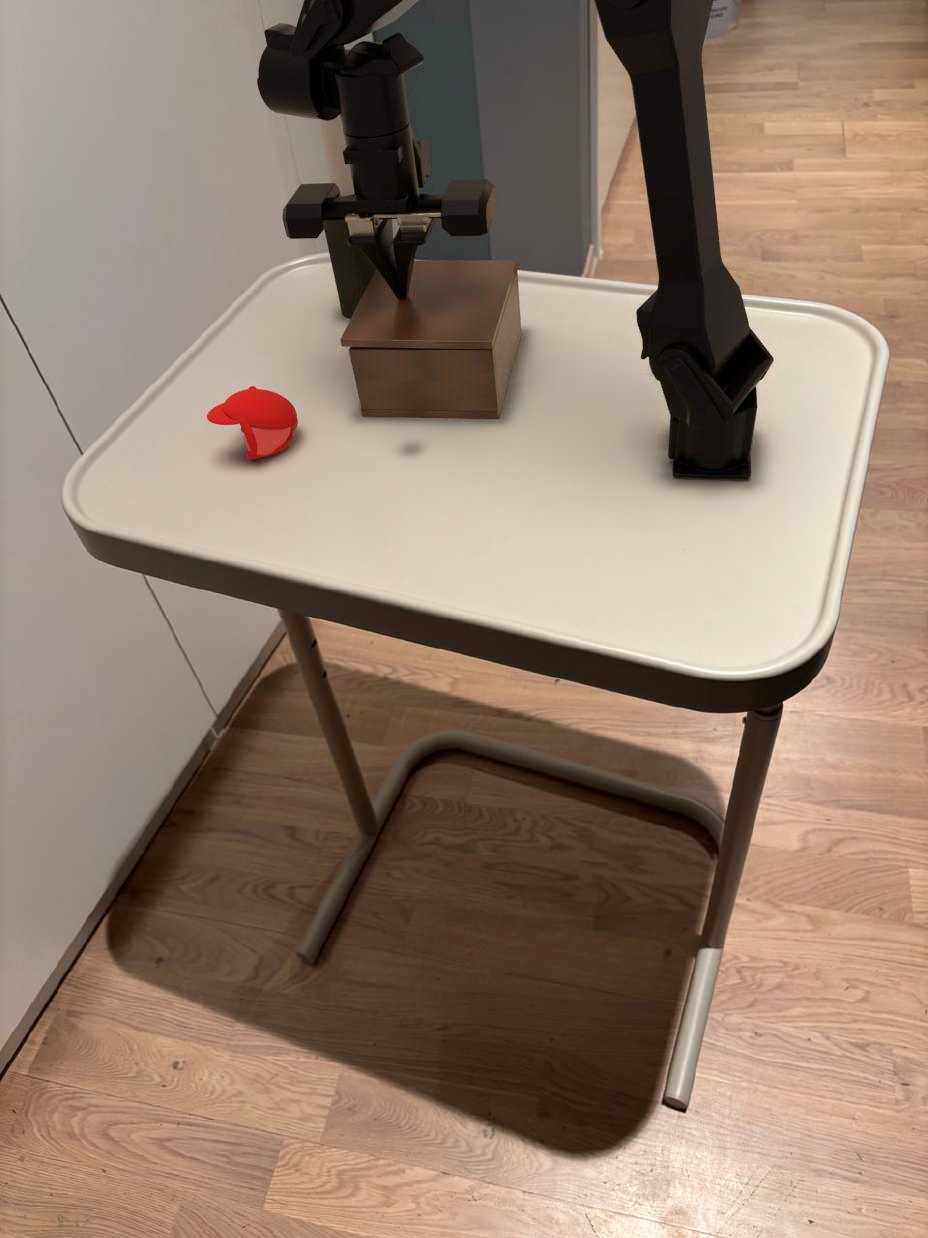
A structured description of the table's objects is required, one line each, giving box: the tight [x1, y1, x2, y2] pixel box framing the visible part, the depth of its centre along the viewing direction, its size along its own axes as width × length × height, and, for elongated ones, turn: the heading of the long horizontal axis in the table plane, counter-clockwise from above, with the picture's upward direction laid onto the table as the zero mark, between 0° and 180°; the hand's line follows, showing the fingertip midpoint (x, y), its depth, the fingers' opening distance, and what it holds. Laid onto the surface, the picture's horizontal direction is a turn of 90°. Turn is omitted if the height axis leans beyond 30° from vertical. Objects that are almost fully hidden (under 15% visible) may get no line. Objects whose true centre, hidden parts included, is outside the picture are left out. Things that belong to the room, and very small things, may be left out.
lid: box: [339, 259, 518, 350], centre depth 91 cm, size 14×16×1 cm
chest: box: [348, 268, 523, 420], centre depth 93 cm, size 14×16×7 cm
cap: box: [206, 385, 299, 460], centre depth 88 cm, size 8×6×6 cm
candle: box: [317, 115, 377, 320], centre depth 98 cm, size 5×5×25 cm
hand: (403, 297), depth 91 cm, fingers closed
